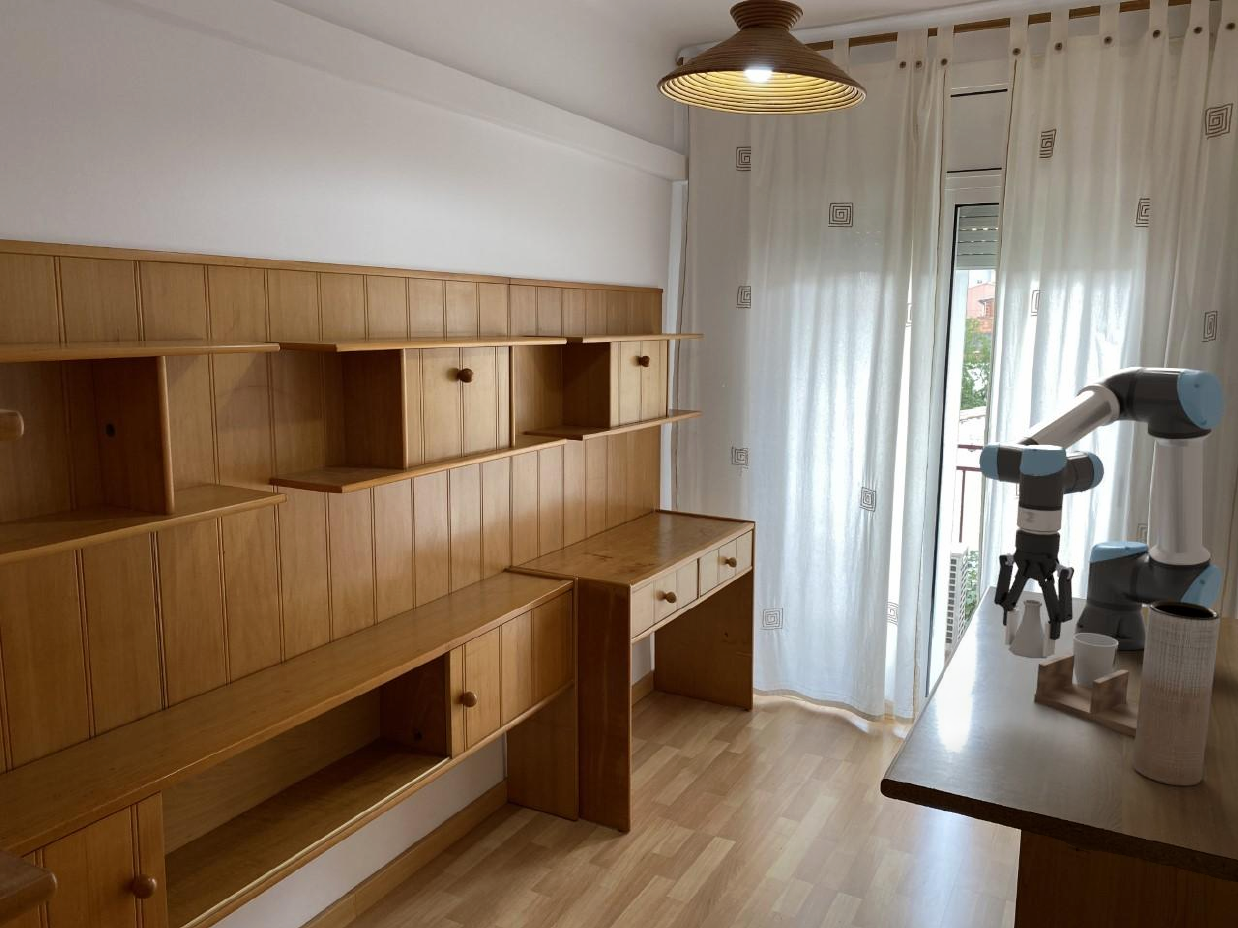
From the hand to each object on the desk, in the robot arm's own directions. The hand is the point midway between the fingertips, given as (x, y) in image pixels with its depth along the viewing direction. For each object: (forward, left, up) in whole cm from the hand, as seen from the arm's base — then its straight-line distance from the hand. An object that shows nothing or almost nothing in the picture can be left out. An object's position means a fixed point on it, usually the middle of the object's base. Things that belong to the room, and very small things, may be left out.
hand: (1029, 648), depth 183 cm
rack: (-12, +10, -12) cm, 19 cm away
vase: (+4, +28, -12) cm, 31 cm away
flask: (0, 0, -1) cm, 1 cm away
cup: (-23, +1, -12) cm, 26 cm away
